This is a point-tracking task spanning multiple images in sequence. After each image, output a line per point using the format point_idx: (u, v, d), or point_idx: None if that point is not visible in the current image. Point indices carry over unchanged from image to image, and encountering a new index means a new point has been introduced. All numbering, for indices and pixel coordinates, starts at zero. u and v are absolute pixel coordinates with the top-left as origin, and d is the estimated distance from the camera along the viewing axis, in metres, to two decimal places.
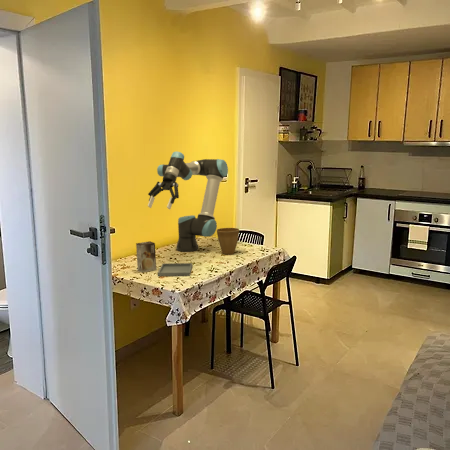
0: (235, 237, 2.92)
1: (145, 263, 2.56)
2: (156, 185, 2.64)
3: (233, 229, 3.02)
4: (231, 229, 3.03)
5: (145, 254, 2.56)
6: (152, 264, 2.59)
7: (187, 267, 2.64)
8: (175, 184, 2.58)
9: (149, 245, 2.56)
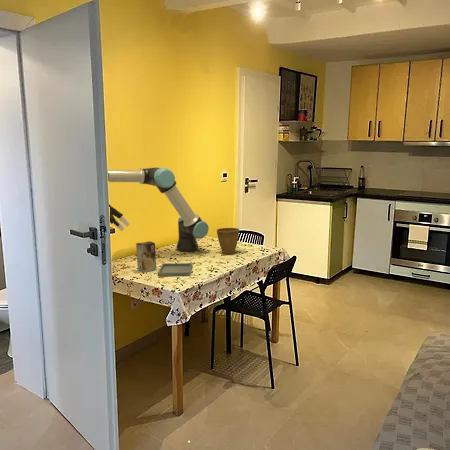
0: (235, 237, 2.92)
1: (145, 263, 2.56)
2: None
3: (233, 229, 3.02)
4: (231, 229, 3.03)
5: (145, 254, 2.56)
6: (152, 264, 2.59)
7: (187, 267, 2.64)
8: None
9: (149, 245, 2.56)
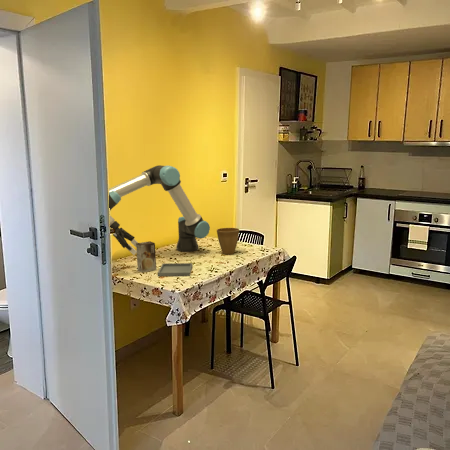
0: (235, 237, 2.92)
1: (145, 263, 2.56)
2: None
3: (233, 229, 3.02)
4: (231, 229, 3.03)
5: (145, 254, 2.56)
6: (152, 264, 2.59)
7: (187, 267, 2.64)
8: (114, 236, 2.50)
9: (149, 245, 2.56)
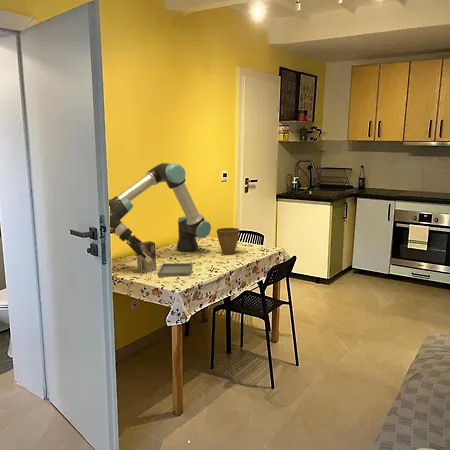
0: (235, 237, 2.92)
1: (145, 263, 2.56)
2: None
3: (233, 229, 3.02)
4: (231, 229, 3.03)
5: None
6: (152, 263, 2.59)
7: (187, 267, 2.64)
8: (128, 244, 2.52)
9: (149, 245, 2.56)
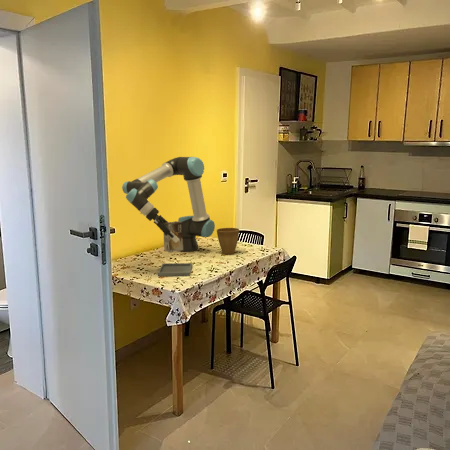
0: (235, 237, 2.92)
1: (173, 243, 2.51)
2: None
3: (233, 229, 3.02)
4: (231, 229, 3.03)
5: None
6: (179, 244, 2.54)
7: (187, 267, 2.64)
8: (155, 223, 2.47)
9: (176, 225, 2.51)
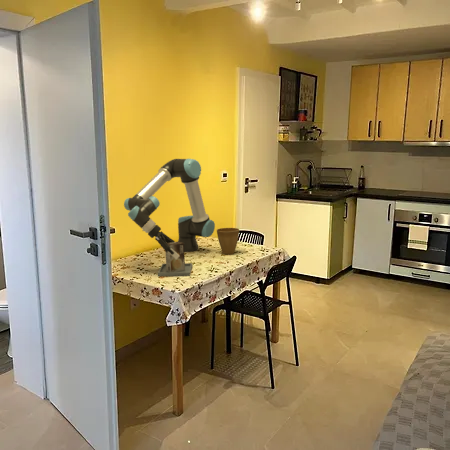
0: (235, 237, 2.92)
1: (174, 264, 2.53)
2: None
3: (233, 229, 3.02)
4: (231, 229, 3.03)
5: None
6: (181, 264, 2.55)
7: (187, 267, 2.64)
8: None
9: (178, 245, 2.52)
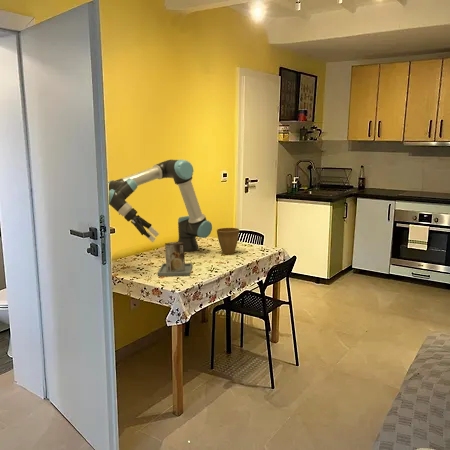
0: (235, 237, 2.92)
1: (174, 264, 2.53)
2: None
3: (233, 229, 3.02)
4: (231, 229, 3.03)
5: (174, 254, 2.52)
6: (181, 264, 2.55)
7: (187, 267, 2.64)
8: (132, 223, 2.48)
9: (178, 245, 2.52)
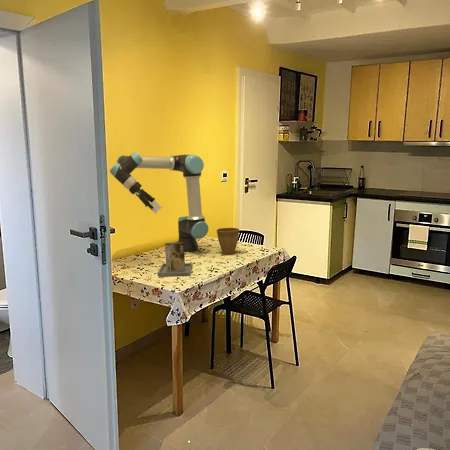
0: (235, 237, 2.92)
1: (174, 264, 2.53)
2: None
3: (233, 229, 3.02)
4: (231, 229, 3.03)
5: (174, 254, 2.52)
6: (181, 264, 2.55)
7: (187, 267, 2.64)
8: (137, 195, 2.60)
9: (178, 245, 2.52)
